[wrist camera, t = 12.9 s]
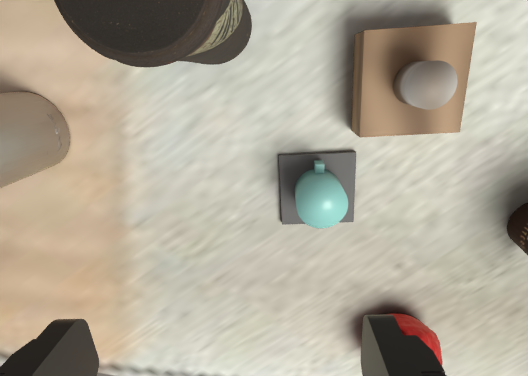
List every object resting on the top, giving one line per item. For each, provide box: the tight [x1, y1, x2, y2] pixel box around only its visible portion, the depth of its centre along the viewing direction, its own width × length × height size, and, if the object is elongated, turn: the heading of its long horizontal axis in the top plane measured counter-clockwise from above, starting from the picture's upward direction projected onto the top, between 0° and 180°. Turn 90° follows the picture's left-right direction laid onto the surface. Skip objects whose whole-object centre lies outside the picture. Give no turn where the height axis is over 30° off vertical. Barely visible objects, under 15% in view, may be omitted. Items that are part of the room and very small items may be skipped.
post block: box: [351, 22, 477, 137], centre depth 31 cm, size 10×10×8 cm
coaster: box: [279, 151, 356, 224], centre depth 39 cm, size 9×9×1 cm
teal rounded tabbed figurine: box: [295, 160, 348, 228], centre depth 37 cm, size 8×6×4 cm
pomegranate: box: [385, 313, 442, 366], centre depth 42 cm, size 10×10×9 cm
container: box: [54, 0, 252, 67], centre depth 24 cm, size 9×9×20 cm
